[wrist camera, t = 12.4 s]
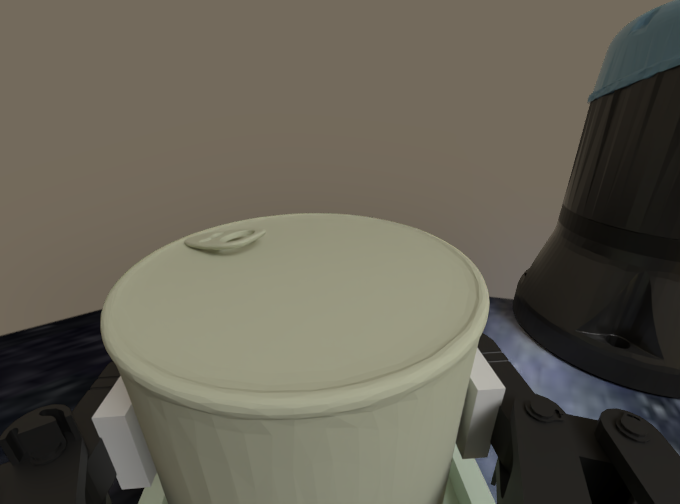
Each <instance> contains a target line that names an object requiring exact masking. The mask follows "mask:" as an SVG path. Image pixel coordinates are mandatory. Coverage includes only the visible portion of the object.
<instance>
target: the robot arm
mask: <svg viewBox="0 0 680 504" xmlns="http://www.w3.org/2000/svg"><path fill="white" fill-rule="evenodd" d="M588 103H590V107H589V110H588V114H587V118H586V121H585V125H584V129H583V132H582V136H581V140H580V144H579V147H578V151H577V154H576V158H575V162H574V166H573V169H572V173H571V176H570V180H569V183H568V187H567V190H566V194H565V197H564V201H563V205H562V209H561V212H560V216H559V219H558V222H557V226H556V228H555V230H554V232H553V233H552V235H551V236H550V238H549V239H548V241H547V242H546V244H545V245H544V247H543V248H542V250H541V251H540V253H539V254H538V256H537V258H536V259H535V261H534V262H533V264H532V266H531V267H530V268H529V269H528V270H526V272H525V273H524V274H523V275H522V277H521V278H520V280H519V282H518V285H517V289H516V293H515V297H514V301H513V311H514V314H515V316H516V318H517V320H518V322H519V323H520V324H521V326H522V327H523V328H524V329H525V330H526V332H527V333H528V334H529V335H530V336H532V337H533V338H534V339H535V340H536V341H537V342H539V343H540V344H541V345H542V346H544V347H545V348H547V349H548V350H549V351H551V352H552V353H554V354H556V355H557V356H559V357H560V358H562V359H564V360H566V361H567V362H569V363H571V364H573V365H575V366H577V367H579V368H581V369H583V370H585V371H587V372H589V373H592V374H594V375H596V376H599V377H601V378H604V379H606V380H609V381H612V382H614V383H617V384H620V385H623V386H626V387H630V388H633V389H637V390H640V391H644V392H648V393H652V394H657V395H662V396H668V397H674V398H680V0H674V1H671V2H669V3H666V4H664V5H662V6H659V7H657V8H655V9H653V10H650V11H648V12H646V13H645V14H643V15H641V16H639V17H637V18H636V19H635V20H633V21H631V22H630V23H629V24H627V25H626V26H625V27H624V28H623V29H622V30H621V31H620V32H619V33H618V34H617V35H616V36H615V38H614V39H613V41H612V42H611V44H610V46H609V48H608V50H607V53H606V56H605V59H604V62H603V65H602V68H601V71H600V74H599V76H598V79H597V82H596V85H595V88H594V91H593V93H592V94H591V95H589V98H588ZM491 444H492V446H493V448H494V450H495V452H496V454H497V456H498V460H497V463H496V467H495V470H494V474H493V477H492V482H491V485H494V486H495V484H496V486H497V504H680V456H679V455H678V453H677V452H676V451H675V450H674V449H673V447H672V446H671V445H670V444H669V443H668V441H667V440H666V439H665V438H664V436H663V435H662V434H661V433H660V432H659V431H658V430H657V429H656V428H655V427H654V426H653V425H652V424H650V423H649V422H647V421H646V420H644V419H643V418H641V417H640V416H637V415H635V414H633V413H631V412H628V411H625V410H620V409H607V410H605V411H603V412H602V413H601V415H600V418H599V420H593V419H588V418H583V417H578V416H573V415H569V414H566V413H565V412H564V411H563V410H562V409H561V408H560V407H559V406H558V405H557V404H556V403H554V402H553V401H551V400H549V399H548V398H546V397H543V396H540V395H538V394H535V393H534V392H533V391H532V390H531V388H530V387H529V386H528V384H527V383H526V382H525V381H524V379H523V378H522V377H521V375H520V374H519V373H518V372H517V370H516V369H515V368H514V366H513V365H512V364H511V363H510V362H508V359H507V357H506V356H505V355H504V354H503V353H502V352H501V350H500V348H499V347H498V346H497V345H496V343H495V342H494V341H493V340H492V339H491V338H489V337H488V336H486V335H485V334H483V333H482V334H481V336H480V339H479V343H478V347H477V351H476V355H475V359H474V363H473V367H472V371H471V375H470V379H469V384H468V388H467V393H466V397H465V402H464V406H463V410H462V415H461V419H460V424H459V428H458V433H457V438H456V445H457V448H458V450H459V452H460V454H461V457H462V459H472V458H483V457H487V456H488V453H489V449H490V445H491ZM0 446H1V447H2V449H3V451H4V452H5V454H6V456H7V457H8V459H9V461H10V462H8V463H5V464H2V465H0V504H111V499H110V496H109V493H108V491H109V489H110V487H111V485H112V483H113V481H114V479H115V478H116V477H117V479H118V482H119V484H120V487H121V489H134V488H145V487H151V485H152V483H153V480H154V478H155V475H156V473H157V470H156V468H155V465H154V462H153V460H152V457H151V454H150V452H149V449H148V446H147V443H146V441H145V438H144V435H143V433H142V430H141V427H140V425H139V422H138V419H137V416H136V414H135V411H134V408H133V406H132V403H131V400H130V398H129V395H128V392H127V390H126V387H125V385H124V382H123V380H122V377H121V375H120V373H119V371H118V368H117V366H116V364H115V363H114V361H112V362H111V363H109V364H108V365H107V367H106V368H105V369H104V370H103V372H102V373H101V374H100V376H99V377H98V380H96V381H95V382H94V384H93V385H92V386H91V389H90V390H88V391H87V393H86V394H85V395H84V397H83V398H82V399H81V401H80V402H79V403H78V405H77V406H76V407H75V409H74V410H73V411H72V412H71V410H70V408H68V407H67V406H65V405H57V404H53V405H49V406H45V407H41V408H38V409H36V410H34V411H31V412H29V413H27V414H26V415H24V416H22V417H21V418H19V419H18V420H16V421H15V422H13V423H12V424H11V425H10V426H9V427H8V428H7V429H6V430H5V431H4V432H3V434H2V435H1V437H0Z"/></svg>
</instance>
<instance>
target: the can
mask: <svg viewBox="0 0 680 504" xmlns="http://www.w3.org/2000/svg"><path fill="white" fill-rule="evenodd" d="M489 303H490V302H489V293H488V289H487V286H486V283H485V281H484V278H483V276H482V275H481V273H480V271H479V270H478V268H477V267H476V266H475V265H474V263H473V262H472V261H471V260H470V259H469V258H468V257H467V256H466V255H464V254H463V253H462V252H461V251H460V250H458V249H457V248H455V247H454V246H452V245H451V244H449V243H447V242H446V241H444V240H442V239H440V238H438V237H436V236H434V235H432V234H429V233H427V232H425V231H422V230H419V229H416V228H414V227H411V226H407V225H404V224H400V223H397V222H392V221H387V220H383V219H378V218H372V217H365V216H357V215H346V214H333V213H331V214H330V213H301V214H284V215H274V216H265V217H258V218H253V219H247V220H241V221H236V222H232V223H227V224H223V225H219V226H216V227H212V228H209V229H206V230H202V231H199V232H196V233H193V234H191V235H188V236H186V237H183V238H181V239H178V240H176V241H174V242H172V243H169V244H167V245H165V246H163V247H162V248H160V249H158V250H156V251H154V252H153V253H151V254H149V255H148V256H146V257H145V258H143V259H142V260H141V261H139V262H138V263H136V264H135V265H134V266H133V267H131V268H130V269H129V270H128V271H127V272H126V273H125V274H124V275H123V276H122V277H121V278H120V279H119V280H118V281H117V282H116V283H115V285H114V287H113V288H112V289H111V291H110V293H109V294H108V296H107V298H106V300H105V302H104V306H103V309H102V312H101V335H102V340H103V343H104V346H105V348H106V350H107V352H108V354H109V355H110V357H111V358H112V360H113V361H114V363H115V364H116V366H117V368H118V371H119V373H120V375H121V377H122V380H123V382H124V385H125V387H126V390H127V392H128V395H129V398H130V400H131V403H132V406H133V408H134V411H135V414H136V416H137V419H138V422H139V425H140V427H141V430H142V433H143V435H144V438H145V441H146V443H147V446H148V449H149V452H150V454H151V457H152V460H153V462H154V465H155V468H156V470H157V473H158V476H159V479H160V482H161V485H162V488H163V491H164V494H165V497H166V499H167V502H168V504H443V500H444V495H445V490H446V485H447V481H448V476H449V471H450V466H451V462H452V457H453V452H454V447H455V443H456V438H457V433H458V428H459V424H460V419H461V415H462V410H463V406H464V402H465V397H466V393H467V388H468V384H469V379H470V375H471V371H472V367H473V363H474V359H475V355H476V351H477V347H478V343H479V339H480V336H481V334H482V332H483V330H484V328H485V325H486V322H487V318H488V312H489Z"/></svg>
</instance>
